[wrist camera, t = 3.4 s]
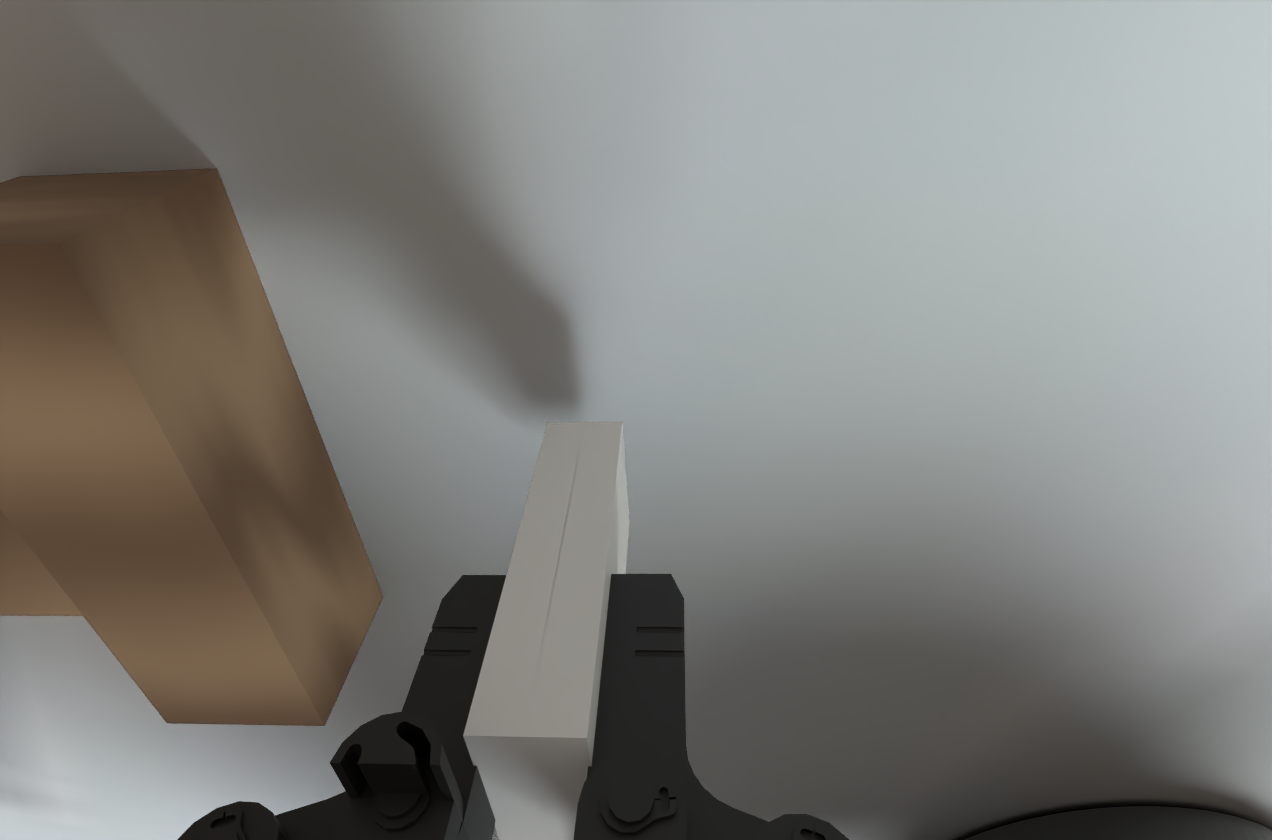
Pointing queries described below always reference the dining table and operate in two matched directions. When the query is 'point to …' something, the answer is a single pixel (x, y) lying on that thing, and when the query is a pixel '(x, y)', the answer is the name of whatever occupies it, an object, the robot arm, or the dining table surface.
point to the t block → (168, 453)
